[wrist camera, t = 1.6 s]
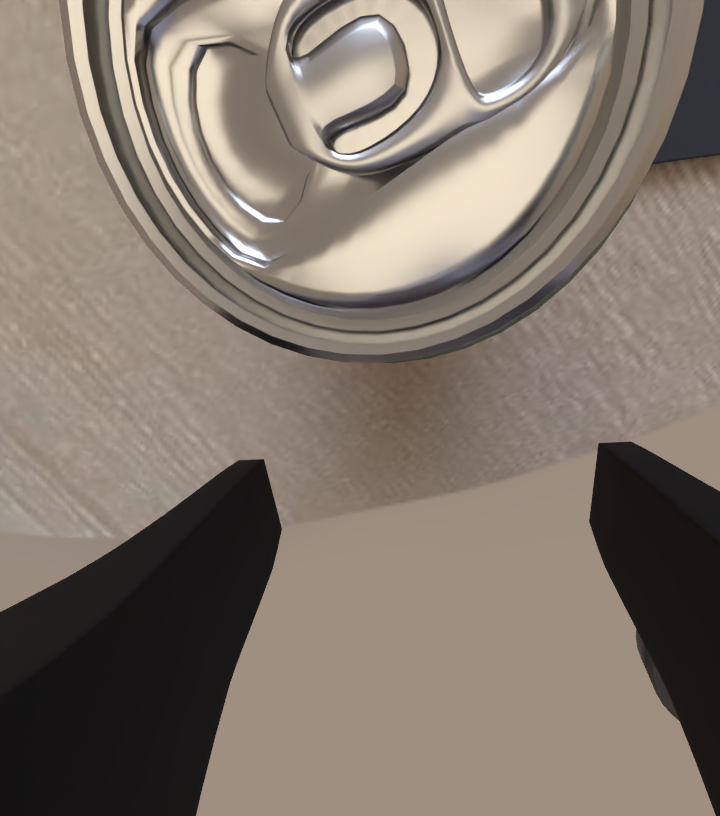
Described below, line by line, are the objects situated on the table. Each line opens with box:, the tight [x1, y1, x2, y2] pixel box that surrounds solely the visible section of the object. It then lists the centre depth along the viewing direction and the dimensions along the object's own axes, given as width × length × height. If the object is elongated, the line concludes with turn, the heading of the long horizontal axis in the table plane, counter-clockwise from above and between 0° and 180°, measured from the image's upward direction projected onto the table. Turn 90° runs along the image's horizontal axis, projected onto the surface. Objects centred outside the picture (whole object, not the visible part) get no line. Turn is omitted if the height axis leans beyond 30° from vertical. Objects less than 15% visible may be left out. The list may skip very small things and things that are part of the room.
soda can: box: [59, 0, 704, 363], centre depth 8 cm, size 5×5×12 cm
